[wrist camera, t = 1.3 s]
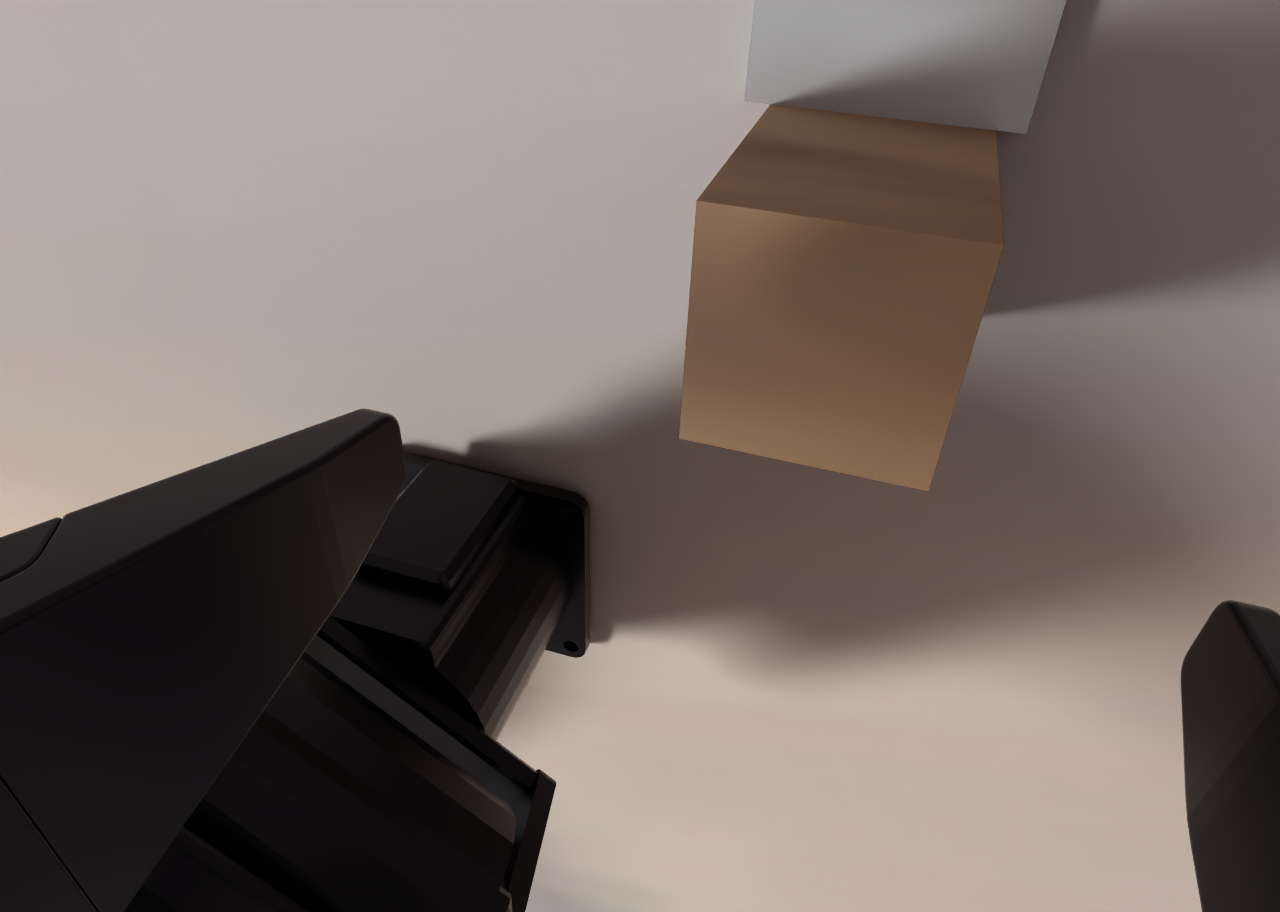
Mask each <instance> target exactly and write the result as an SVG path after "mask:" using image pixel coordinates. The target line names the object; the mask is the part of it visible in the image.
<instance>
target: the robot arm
mask: <svg viewBox="0 0 1280 912" xmlns="http://www.w3.org/2000/svg"><path fill="white" fill-rule="evenodd" d="M566 507H569V508H571V509H572V510H573V511H574V512H571V511H569V510H568V509H567V508H566ZM589 643H590V509H589V505H588V503H587V501H586V500H585V498H583V497H582V496H581V495H580V494H578V493H575V492H572V491H568V490H564V489H560V488H555V487H551V486H547V485H543V484H538V483H534V482H530V481H526V480H521V479H517V478H513V477H509V476H504V475H500V474H496V473H491V472H487V471H483V470H479V469H474V468H470V467H466V466H462V465H457V464H453V463H449V462H445V461H440V460H436V459H432V458H428V457H423V456H419V455H415V454H411V453H406V452H403V446H402V440H401V434H400V428H399V424H398V421H397V420H396V418H395V417H394V416H392V415H391V414H388V413H383V412H379V411H374V410H370V409H359V410H356V411H353V412H351V413H348V414H345V415H342V416H339V417H337V418H334V419H331V420H328V421H325V422H323V423H320V424H317V425H314V426H312V427H309V428H306V429H303V430H300V431H298V432H295V433H292V434H289V435H286V436H284V437H281V438H278V439H275V440H272V441H270V442H267V443H264V444H261V445H258V446H256V447H253V448H250V449H247V450H244V451H242V452H239V453H236V454H233V455H231V456H228V457H225V458H222V459H219V460H217V461H214V462H211V463H208V464H205V465H203V466H200V467H197V468H194V469H191V470H189V471H186V472H183V473H180V474H177V475H175V476H172V477H169V478H166V479H163V480H161V481H158V482H155V483H152V484H150V485H147V486H144V487H141V488H138V489H136V490H133V491H130V492H127V493H124V494H122V495H119V496H116V497H113V498H110V499H108V500H105V501H102V502H99V503H96V504H94V505H91V506H88V507H85V508H82V509H80V510H77V511H74V512H71V513H69V514H66V515H65V516H64V517H63V519H61V518H54V519H51V520H48V521H46V522H43V523H40V524H37V525H35V526H32V527H29V528H26V529H24V530H21V531H18V532H15V533H12V534H9V535H6V536H3V537H0V912H525V910H526V906H527V901H528V897H529V893H530V889H531V885H532V881H533V877H534V873H535V869H536V865H537V861H538V856H539V852H540V848H541V844H542V840H543V836H544V832H545V828H546V824H547V820H548V815H549V811H550V807H551V803H552V799H553V795H554V791H555V787H556V781H554V780H553V779H552V778H551V777H549V776H548V775H547V774H545V773H544V772H543V771H541V770H540V769H538V770H536V771H535V770H534V769H533V768H531V767H530V766H529V765H527V764H526V763H525V762H523V761H522V760H521V759H519V758H518V757H517V756H516V755H514V754H513V753H512V752H510V751H509V750H508V749H506V748H505V747H504V746H502V745H501V744H500V743H498V742H497V741H496V740H497V738H498V736H499V735H500V733H501V731H502V729H503V727H504V725H505V723H506V721H507V720H508V718H509V716H510V714H511V712H512V710H513V708H514V706H515V705H516V703H517V701H518V699H519V697H520V695H521V693H522V691H523V690H524V688H525V686H526V684H527V682H528V680H529V678H530V676H531V674H532V673H533V671H534V669H535V667H536V665H537V663H538V661H539V659H540V658H541V656H542V654H543V652H544V650H549V651H552V652H556V653H559V654H563V655H567V656H570V657H576V658H577V657H581V656H583V655H584V654H585V652H586V650H587V648H588V646H589ZM1181 696H1182V721H1183V746H1184V771H1185V796H1186V810H1187V821H1188V828H1189V835H1190V842H1191V848H1192V854H1193V860H1194V866H1195V872H1196V878H1197V883H1198V889H1199V895H1200V901H1201V907H1202V912H1280V615H1279V614H1278V613H1276V612H1275V611H1273V610H1271V609H1268V608H1264V607H1260V606H1255V605H1251V604H1246V603H1242V602H1237V601H1225V602H1222V603H1221V604H1220V605H1218V606H1217V607H1216V609H1215V610H1214V611H1213V613H1212V614H1211V616H1210V617H1209V619H1208V620H1207V622H1206V624H1205V625H1204V627H1203V628H1202V630H1201V632H1200V633H1199V635H1198V636H1197V638H1196V639H1195V641H1194V643H1193V644H1192V646H1191V647H1190V649H1189V650H1188V652H1187V654H1186V656H1185V658H1184V661H1183V665H1182V670H1181Z"/></svg>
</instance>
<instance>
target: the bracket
mask: <svg viewBox="0 0 1280 912" xmlns="http://www.w3.org/2000/svg"><path fill="white" fill-rule="evenodd" d="M1066 1H1067V0H755V2H754V12H753V22H752V31H751V41H750V51H749V61H748V71H747V80H746V90H745V100H744V101H747V102H755V103H764V104H771V105H770V106H769V107H768V109H767V110H766V111H765V112H764V114H763V115H762V116H761V118H760V119H759V120H758V122H757V123H756V124H755V125H754V127H753V128H752V129H751V131H750V132H749V133H748V135H747V136H746V137H745V138H744V140H743V141H742V142H741V144H740V145H739V146H738V148H737V149H736V150H735V151H734V153H733V154H732V155H731V157H730V158H729V159H728V161H727V162H726V163H725V164H724V166H723V167H722V168H721V170H720V171H719V172H718V174H717V175H716V176H715V177H714V179H713V180H712V181H711V183H710V184H709V185H708V187H707V188H706V189H705V190H704V192H703V193H702V194H701V196H700V197H699V198H698V199H697V203H696V216H695V229H694V243H693V256H692V270H691V283H690V296H689V310H688V323H687V337H686V350H685V363H684V377H683V390H682V404H681V417H680V430H679V439H684V440H688V441H693V442H698V443H702V444H707V445H712V446H717V447H721V448H726V449H731V450H735V451H740V452H745V453H749V454H754V455H759V456H764V457H768V458H773V459H778V460H782V461H787V462H792V463H797V464H801V465H806V466H811V467H815V468H820V469H825V470H830V471H834V472H839V473H844V474H848V475H853V476H858V477H862V478H867V479H872V480H877V481H881V482H886V483H891V484H895V485H900V486H905V487H910V488H914V489H919V490H924V491H929V488H930V485H931V481H932V478H933V475H934V472H935V468H936V465H937V462H938V459H939V455H940V452H941V449H942V445H943V442H944V439H945V436H946V432H947V429H948V426H949V423H950V419H951V416H952V413H953V410H954V406H955V403H956V400H957V397H958V393H959V390H960V387H961V384H962V380H963V377H964V374H965V371H966V367H967V364H968V361H969V358H970V354H971V351H972V348H973V345H974V341H975V338H976V335H977V332H978V328H979V325H980V322H981V319H982V315H983V312H984V309H985V306H986V302H987V299H988V296H989V293H990V289H991V286H992V283H993V280H994V276H995V273H996V270H997V266H998V263H999V260H1000V257H1001V253H1002V250H1003V247H1004V238H1003V223H1002V208H1001V192H1000V177H999V162H998V147H997V132H996V131H1004V132H1013V133H1022V134H1027V131H1028V128H1029V124H1030V121H1031V118H1032V114H1033V111H1034V107H1035V104H1036V101H1037V97H1038V94H1039V91H1040V87H1041V84H1042V81H1043V77H1044V74H1045V71H1046V67H1047V64H1048V61H1049V57H1050V54H1051V51H1052V47H1053V44H1054V41H1055V37H1056V34H1057V31H1058V27H1059V24H1060V21H1061V17H1062V14H1063V11H1064V7H1065V4H1066Z"/></svg>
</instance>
